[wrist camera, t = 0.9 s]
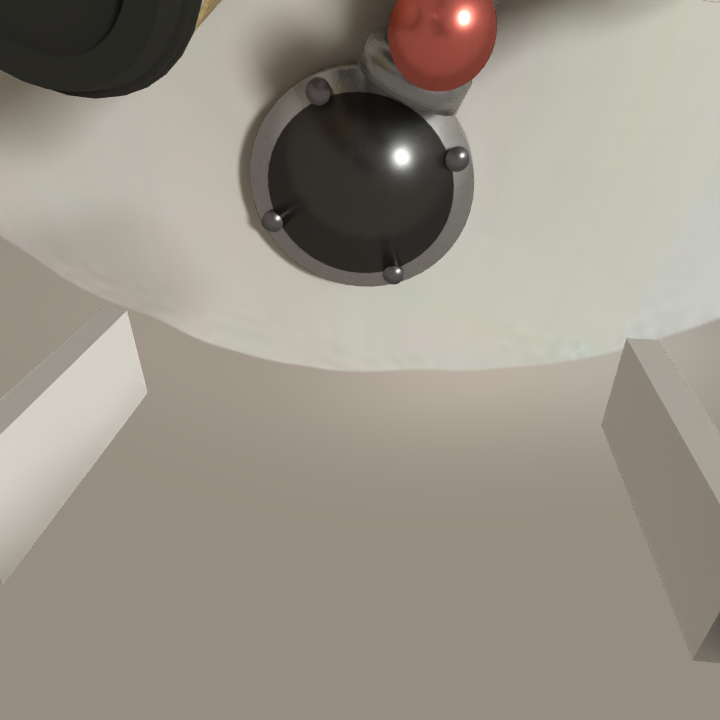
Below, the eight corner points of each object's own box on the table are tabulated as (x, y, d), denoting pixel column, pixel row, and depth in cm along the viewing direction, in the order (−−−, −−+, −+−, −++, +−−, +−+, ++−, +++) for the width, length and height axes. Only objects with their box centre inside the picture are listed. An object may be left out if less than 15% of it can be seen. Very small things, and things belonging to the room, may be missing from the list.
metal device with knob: (336, -118, 27) (299, -119, 20) (582, 19, 29) (621, 58, 23) (233, 225, 40) (190, 292, 33) (411, 301, 42) (404, 379, 35)
